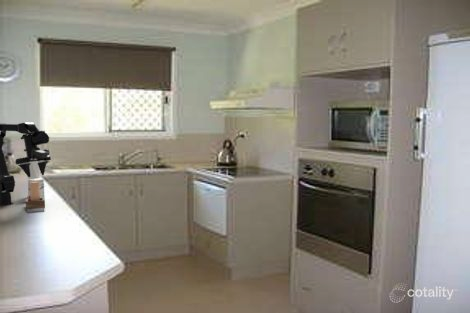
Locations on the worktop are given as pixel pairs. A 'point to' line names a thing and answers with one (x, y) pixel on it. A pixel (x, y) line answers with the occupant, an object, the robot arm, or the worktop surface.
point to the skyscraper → (34, 170)
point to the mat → (35, 210)
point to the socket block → (35, 203)
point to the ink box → (41, 186)
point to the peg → (34, 191)
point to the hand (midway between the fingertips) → (36, 176)
